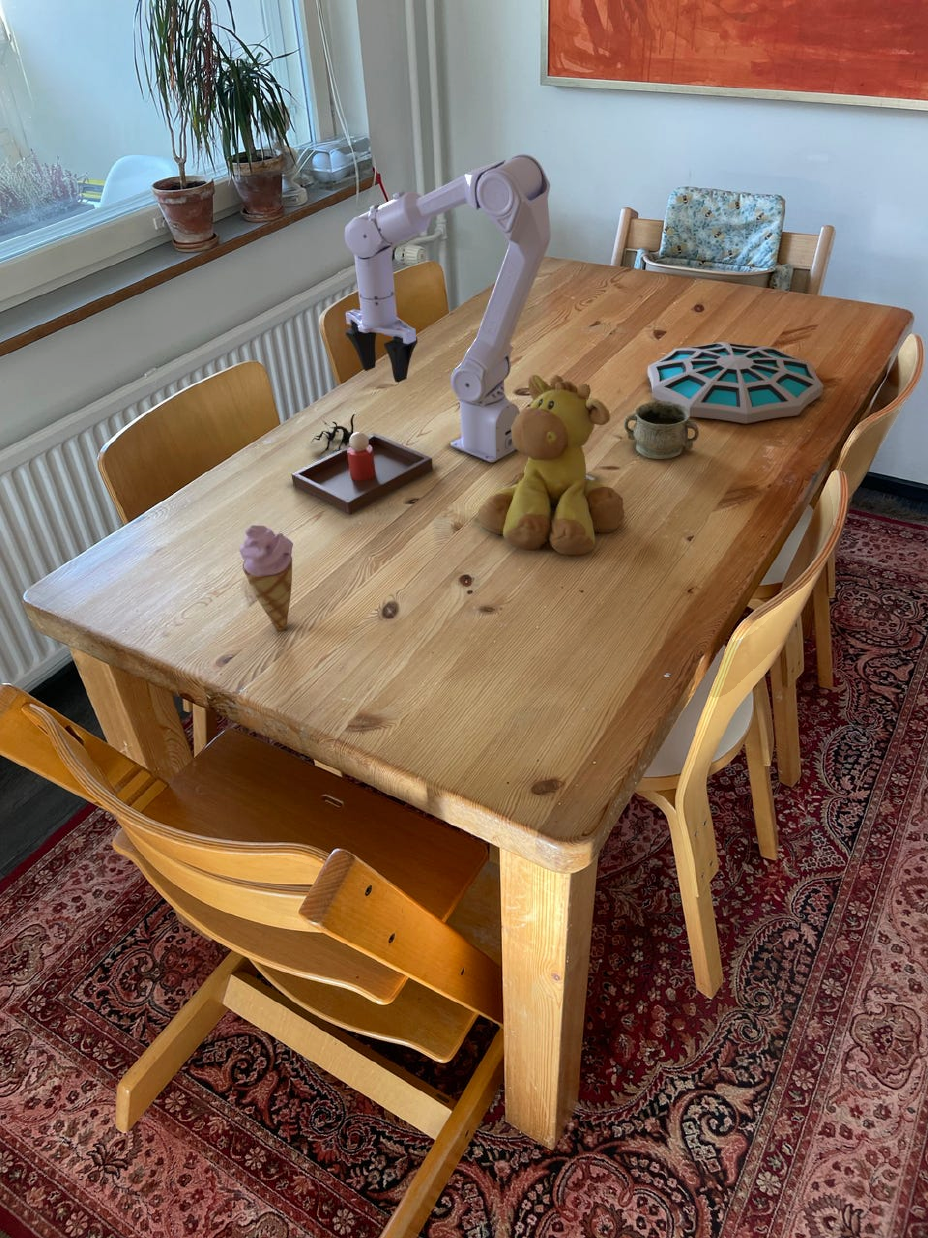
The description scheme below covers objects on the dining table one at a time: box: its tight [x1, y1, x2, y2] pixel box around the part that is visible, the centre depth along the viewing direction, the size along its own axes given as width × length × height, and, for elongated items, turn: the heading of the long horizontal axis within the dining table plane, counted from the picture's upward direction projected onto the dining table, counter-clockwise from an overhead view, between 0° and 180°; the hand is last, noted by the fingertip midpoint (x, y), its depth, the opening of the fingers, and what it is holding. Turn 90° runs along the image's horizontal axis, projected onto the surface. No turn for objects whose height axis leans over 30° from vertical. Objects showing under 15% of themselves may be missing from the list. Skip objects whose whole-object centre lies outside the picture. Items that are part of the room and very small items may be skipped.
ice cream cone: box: [238, 525, 294, 632], centre depth 115 cm, size 7×6×15 cm
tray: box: [290, 433, 434, 515], centre depth 148 cm, size 14×18×2 cm
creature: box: [310, 413, 356, 457], centre depth 156 cm, size 8×5×8 cm
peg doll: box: [347, 431, 376, 481], centre depth 146 cm, size 4×4×7 cm
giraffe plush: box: [477, 374, 626, 556], centre depth 132 cm, size 20×24×19 cm
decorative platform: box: [646, 341, 824, 425], centre depth 167 cm, size 31×29×5 cm
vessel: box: [623, 400, 700, 460], centre depth 150 cm, size 12×9×6 cm
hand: (385, 374), depth 157 cm, fingers open, 7 cm apart
